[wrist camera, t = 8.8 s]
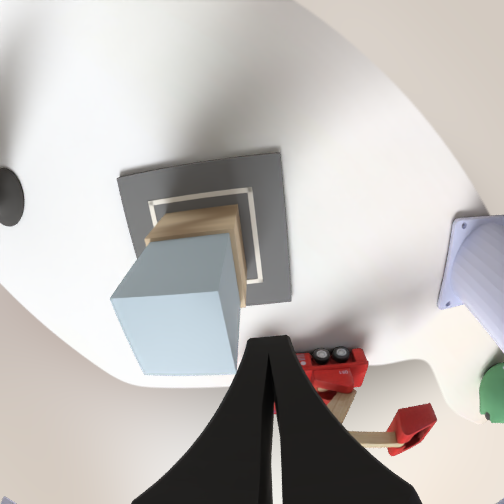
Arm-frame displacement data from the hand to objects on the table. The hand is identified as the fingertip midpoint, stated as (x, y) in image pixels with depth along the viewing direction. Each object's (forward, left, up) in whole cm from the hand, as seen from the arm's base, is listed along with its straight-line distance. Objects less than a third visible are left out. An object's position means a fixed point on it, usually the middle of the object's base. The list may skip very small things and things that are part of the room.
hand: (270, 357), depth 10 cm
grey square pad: (+3, -1, -10) cm, 11 cm away
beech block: (+3, -1, -10) cm, 10 cm away
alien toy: (-28, +21, -10) cm, 37 cm away
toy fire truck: (-4, +11, -10) cm, 16 cm away
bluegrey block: (+3, -1, -6) cm, 7 cm away
